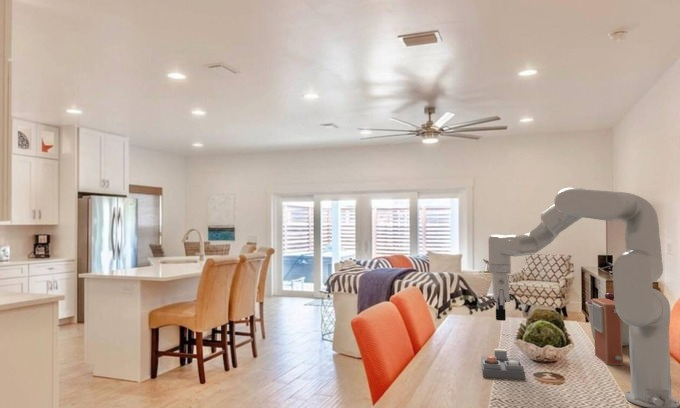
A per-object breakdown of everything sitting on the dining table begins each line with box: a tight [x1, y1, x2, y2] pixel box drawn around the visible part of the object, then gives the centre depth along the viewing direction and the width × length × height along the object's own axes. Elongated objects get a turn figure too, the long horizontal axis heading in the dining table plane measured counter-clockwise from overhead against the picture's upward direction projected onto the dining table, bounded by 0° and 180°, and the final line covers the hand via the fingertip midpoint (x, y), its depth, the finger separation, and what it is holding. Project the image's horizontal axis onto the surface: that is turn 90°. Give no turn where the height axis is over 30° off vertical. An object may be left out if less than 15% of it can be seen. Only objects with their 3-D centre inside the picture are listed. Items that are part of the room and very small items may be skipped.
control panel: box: [592, 298, 624, 366], centre depth 172 cm, size 21×7×15 cm
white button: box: [508, 360, 519, 366], centre depth 156 cm, size 3×3×2 cm
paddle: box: [493, 348, 508, 360], centre depth 166 cm, size 2×4×3 cm, turn 75°
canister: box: [585, 292, 630, 347], centre depth 195 cm, size 18×18×21 cm
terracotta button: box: [486, 355, 497, 363], centre depth 158 cm, size 3×3×2 cm
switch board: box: [481, 354, 526, 381], centre depth 160 cm, size 15×13×4 cm
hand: (500, 319), depth 169 cm, fingers closed
